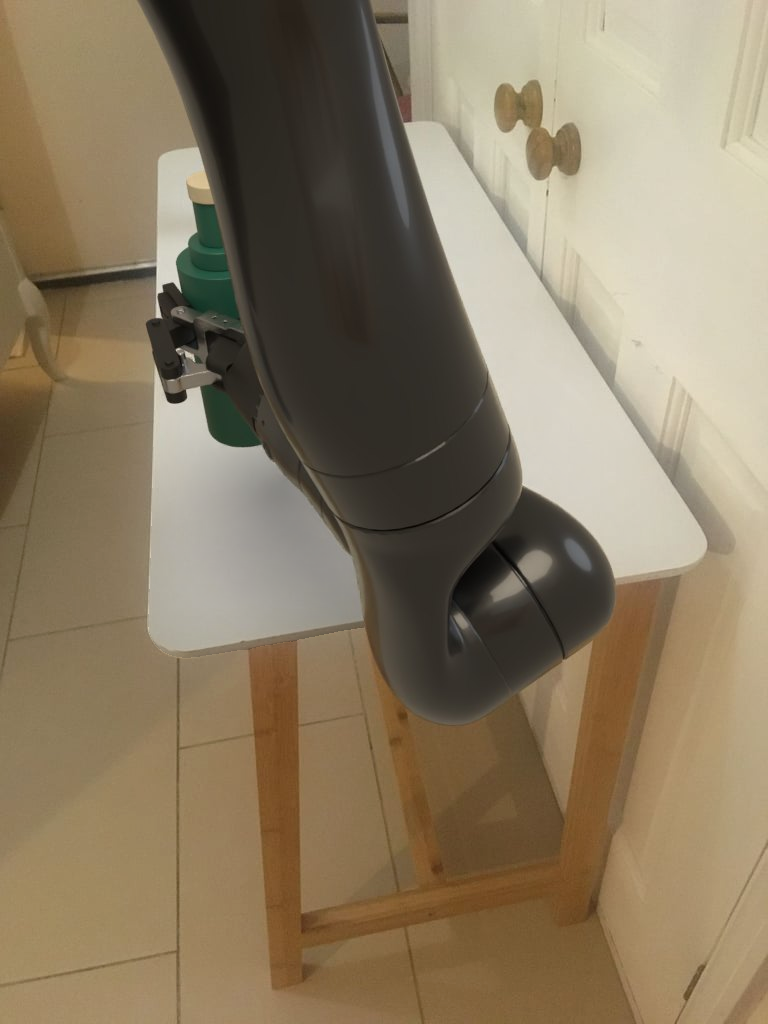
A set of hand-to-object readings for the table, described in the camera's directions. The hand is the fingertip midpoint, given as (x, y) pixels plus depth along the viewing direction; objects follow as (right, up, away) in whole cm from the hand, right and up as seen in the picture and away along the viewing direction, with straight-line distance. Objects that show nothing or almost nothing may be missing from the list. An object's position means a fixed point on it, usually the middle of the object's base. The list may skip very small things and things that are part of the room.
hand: (216, 284), depth 59 cm
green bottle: (+1, -9, +5) cm, 10 cm away
